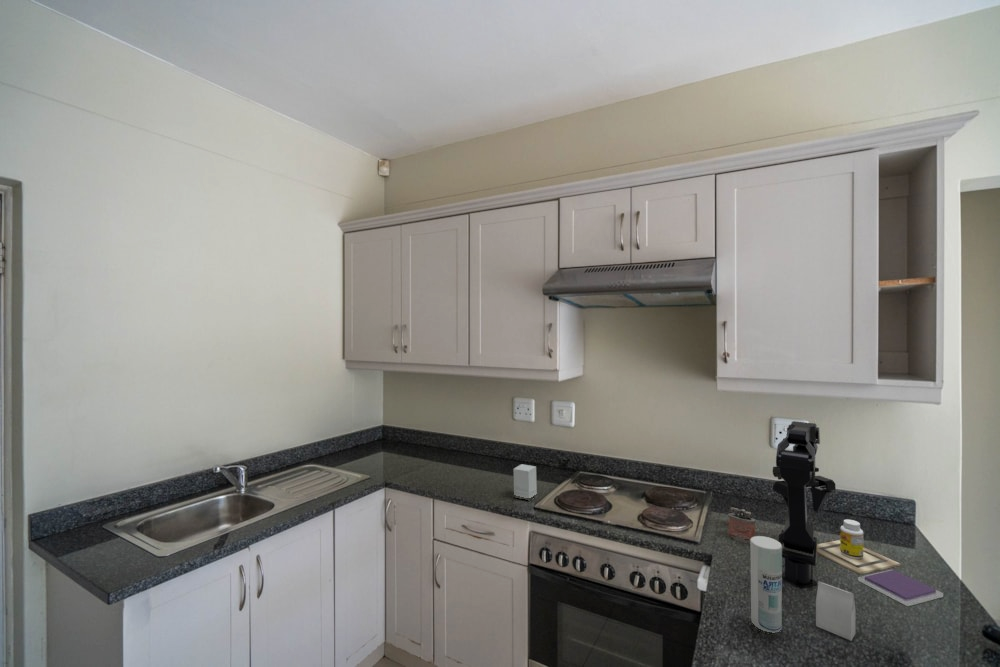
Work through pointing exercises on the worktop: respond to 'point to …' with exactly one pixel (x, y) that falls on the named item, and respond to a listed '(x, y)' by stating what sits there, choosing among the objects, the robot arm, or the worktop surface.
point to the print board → (860, 566)
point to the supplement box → (525, 481)
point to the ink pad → (900, 587)
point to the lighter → (741, 525)
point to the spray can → (766, 583)
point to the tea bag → (835, 610)
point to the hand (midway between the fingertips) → (804, 513)
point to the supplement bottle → (851, 539)
